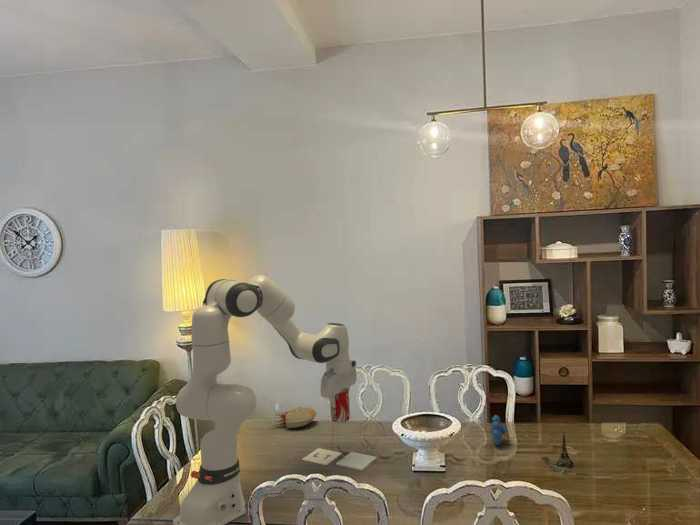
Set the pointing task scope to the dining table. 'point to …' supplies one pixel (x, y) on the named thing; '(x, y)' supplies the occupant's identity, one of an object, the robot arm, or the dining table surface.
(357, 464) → the coaster
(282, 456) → the dining table surface
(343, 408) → the soda can
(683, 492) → the dining table surface
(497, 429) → the blue figurine
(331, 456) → the card
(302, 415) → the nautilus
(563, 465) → the eiffel tower figurine
